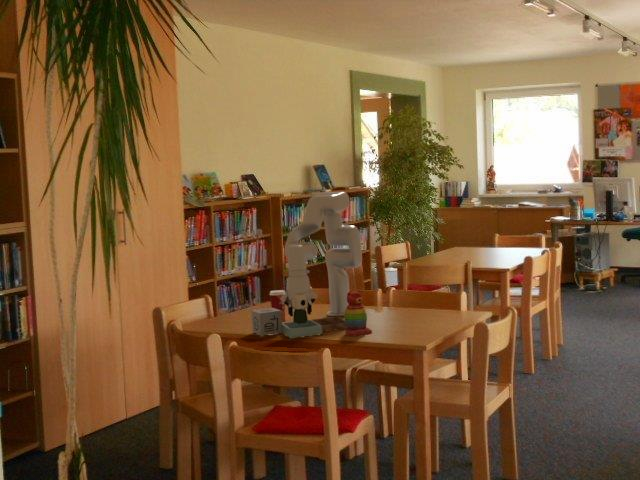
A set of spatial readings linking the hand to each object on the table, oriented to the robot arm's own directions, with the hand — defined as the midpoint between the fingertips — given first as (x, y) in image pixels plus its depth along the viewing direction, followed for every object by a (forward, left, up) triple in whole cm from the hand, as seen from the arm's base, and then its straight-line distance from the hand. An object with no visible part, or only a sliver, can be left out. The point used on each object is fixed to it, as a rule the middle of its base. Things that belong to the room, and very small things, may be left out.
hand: (300, 314), depth 374 cm
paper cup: (+1, -36, -8) cm, 37 cm away
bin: (0, 0, -8) cm, 8 cm away
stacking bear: (-21, +12, -8) cm, 26 cm away
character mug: (0, 0, -4) cm, 4 cm away
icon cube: (+13, -9, -8) cm, 18 cm away
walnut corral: (-15, -8, -8) cm, 19 cm away
